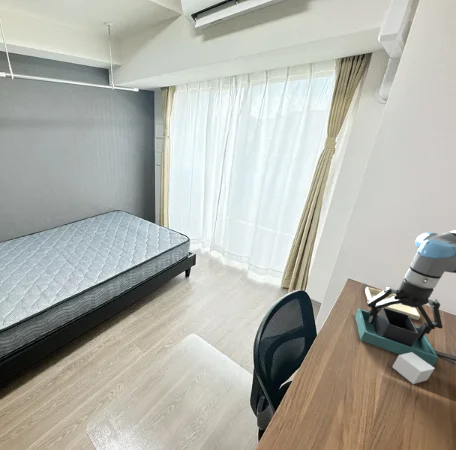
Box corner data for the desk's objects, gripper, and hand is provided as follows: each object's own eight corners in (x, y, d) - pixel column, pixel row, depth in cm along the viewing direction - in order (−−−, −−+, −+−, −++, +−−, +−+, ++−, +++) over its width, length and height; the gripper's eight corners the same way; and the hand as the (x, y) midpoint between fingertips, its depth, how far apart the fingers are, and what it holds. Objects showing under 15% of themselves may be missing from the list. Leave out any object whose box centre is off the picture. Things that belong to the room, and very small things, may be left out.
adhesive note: (426, 381, 78) (435, 368, 75) (412, 385, 76) (421, 372, 74) (404, 364, 83) (412, 351, 81) (391, 368, 82) (398, 355, 79)
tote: (417, 337, 95) (422, 328, 93) (432, 367, 82) (438, 357, 81) (354, 316, 104) (358, 308, 102) (359, 341, 92) (364, 331, 90)
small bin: (399, 333, 95) (409, 315, 92) (407, 353, 87) (419, 334, 83) (373, 324, 99) (382, 307, 96) (379, 343, 91) (388, 324, 87)
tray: (408, 302, 114) (410, 298, 114) (417, 321, 103) (420, 316, 102) (364, 290, 122) (366, 286, 121) (369, 306, 111) (371, 301, 110)
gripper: (374, 275, 87) (353, 321, 95) (477, 303, 75) (443, 353, 83) (370, 266, 93) (351, 310, 101) (465, 290, 81) (435, 338, 89)
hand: (393, 330), depth 92 cm, fingers open, 13 cm apart
